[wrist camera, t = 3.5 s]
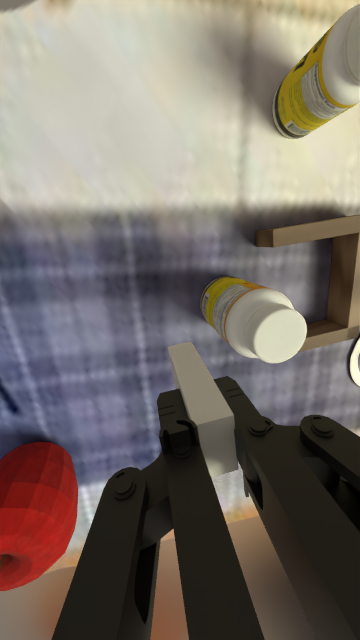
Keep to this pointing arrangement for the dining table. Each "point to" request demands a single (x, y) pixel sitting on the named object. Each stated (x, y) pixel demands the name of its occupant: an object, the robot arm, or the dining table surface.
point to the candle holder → (355, 363)
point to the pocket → (345, 277)
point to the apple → (35, 511)
